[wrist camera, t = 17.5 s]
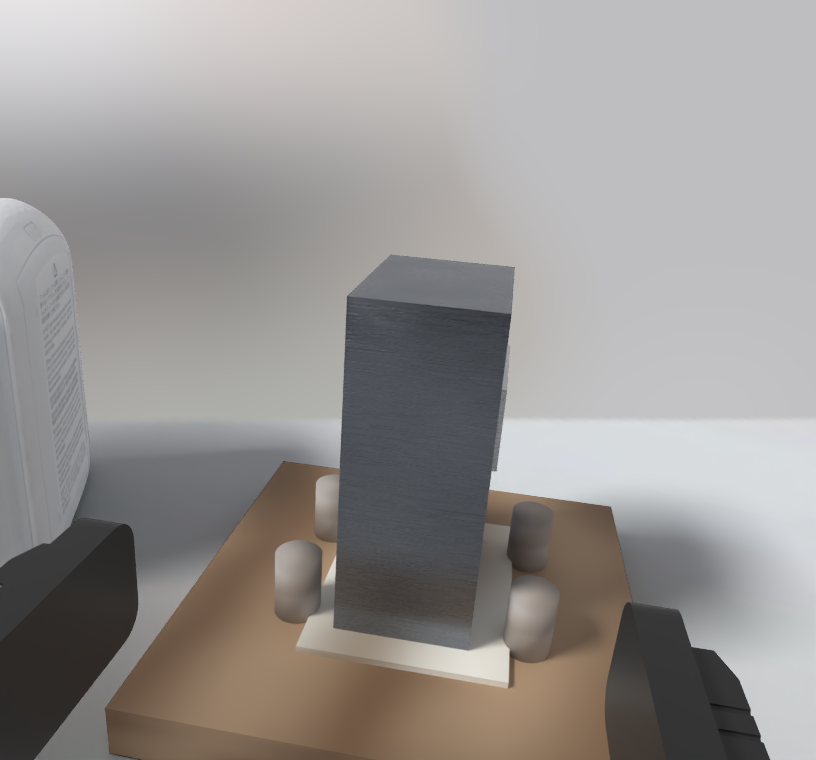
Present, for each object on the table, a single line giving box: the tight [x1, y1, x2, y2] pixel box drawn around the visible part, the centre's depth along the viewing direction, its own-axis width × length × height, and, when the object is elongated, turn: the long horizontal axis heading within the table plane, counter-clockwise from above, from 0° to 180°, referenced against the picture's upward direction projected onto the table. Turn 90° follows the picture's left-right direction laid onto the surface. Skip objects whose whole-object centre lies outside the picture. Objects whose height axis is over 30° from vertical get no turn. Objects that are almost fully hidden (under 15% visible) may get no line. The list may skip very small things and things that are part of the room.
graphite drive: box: [333, 255, 515, 651], centre depth 21 cm, size 4×6×10 cm
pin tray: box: [105, 461, 633, 760], centre depth 23 cm, size 14×14×4 cm
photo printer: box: [0, 198, 90, 567], centre depth 25 cm, size 10×4×12 cm, turn 14°
